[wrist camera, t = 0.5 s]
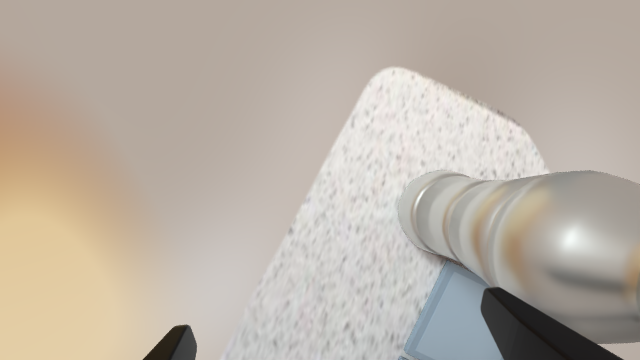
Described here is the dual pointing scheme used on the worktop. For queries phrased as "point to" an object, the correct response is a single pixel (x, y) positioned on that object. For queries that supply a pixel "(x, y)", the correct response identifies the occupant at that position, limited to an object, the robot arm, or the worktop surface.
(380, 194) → the worktop surface
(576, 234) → the silver ridged hollow container
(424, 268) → the worktop surface
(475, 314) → the flat blue-gray rectangular plate
